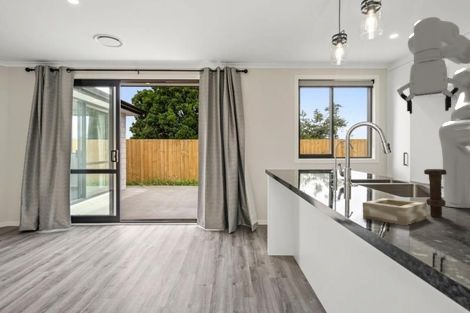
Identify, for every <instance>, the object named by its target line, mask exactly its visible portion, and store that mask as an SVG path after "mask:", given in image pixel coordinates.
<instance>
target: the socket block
mask: <svg viewBox="0 0 470 313" xmlns="http://www.w3.org/2000/svg"><path fill="white" fill-rule="evenodd" d="M427 217H428V215H427V202H424V201H414V200H406V199H397V198H388V197H387V198H386V197H383V198H378V199H374V200H368V201H363V202H362V218H363V219H367V220H373V221H377V222H383V223H387V222H388V223H389V224H393V223H395V225H398V224H399V226H404V225H405V226H404V227H406V225H407V226H409V225H408V224H410V225H412V223H413V224H416V223H419V222H421V221H425V220H426V219H427ZM415 222H416V223H415Z"/></svg>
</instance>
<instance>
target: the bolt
mask: <svg viewBox="0 0 470 313" xmlns="http://www.w3.org/2000/svg"><path fill="white" fill-rule="evenodd" d="M423 172H424V173H423V174H424V175H428V180H429V198H427V199H426V205H428V206H429V211H430V217H433V218H440V217H443V207H446V206H445V205H446V202H445V200H444V198H443V196H442V194H443V193H442V188H443V187H442V185H443V175H446V170H445V169H443V168H426V169H424V171H423Z"/></svg>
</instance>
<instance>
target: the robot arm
mask: <svg viewBox="0 0 470 313" xmlns="http://www.w3.org/2000/svg"><path fill="white" fill-rule="evenodd" d="M412 32H413V33H412V34H410V36H409V38H408V41H407V47H408V50H409V52H410V53H411V54H412V55H413V64H411V66H410V72H409V82H407V83H406V84H405V85H402V86H401V87H399V88H398V89H396V92H397V94H398V95H399V97H400V98H401V99H403V100H404V101H405V102H406V112H409V114H410V115H412V114H413V101H412V100H413V99H414V97H423V96H432V95H439V94H442V95H444V96H445V98H444V111H445V112H448V111H449V110H450V109H451V108H452V97H453V96H454V95H455V97H456V101H455V105H454V107H453V109H452V111H451V114H450V121H447V122H444V123H443V124H441V125H440V127H439V130H438V137H439V141H440V142H439V143H440V146H441V153H442V169H445V170H446V175H442V185H443V187H442V188H443V190H442V192H443V200H445V202H446V205H445V206H444V207H449V208H459V209H460V208H462V209H470V150H469V149H468V148H467V147H470V66H467V67H464V68H461V69H459V70H456V71H455V73H454V74H453V76H452V78H450V77H448V70H447V69H448V68H447V64H446V60H445V59H447V60H449V61H451V62H452V63H454V64H457V65H469V64H470V39H469V38H468V37H466V36H465V35H462V34H460V28H459V26H458V25H457V24H456V23H454V22H453V21H448V20H447V21H446V20H441V19H440V18H439V17H437V16H431V17H430V16H429V17H425V18H422V19H420V20H418V21H417V22H415V23H414V25H413V31H412ZM449 84H451V85H452V88H453V89H452V90H451V91H450V90H448V85H449ZM408 89H409V94H408V95H406V94H405V93H404V91H405V90H408Z"/></svg>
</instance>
